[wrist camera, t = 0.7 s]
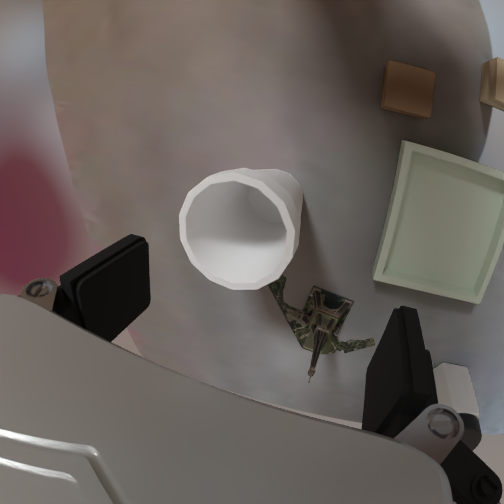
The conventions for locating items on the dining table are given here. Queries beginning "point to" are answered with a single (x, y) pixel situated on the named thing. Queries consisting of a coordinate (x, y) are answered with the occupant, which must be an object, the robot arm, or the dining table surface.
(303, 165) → the dining table surface
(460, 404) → the jar
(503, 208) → the tray
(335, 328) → the eiffel tower figurine
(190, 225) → the foam cup
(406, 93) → the walnut block
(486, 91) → the maple block
